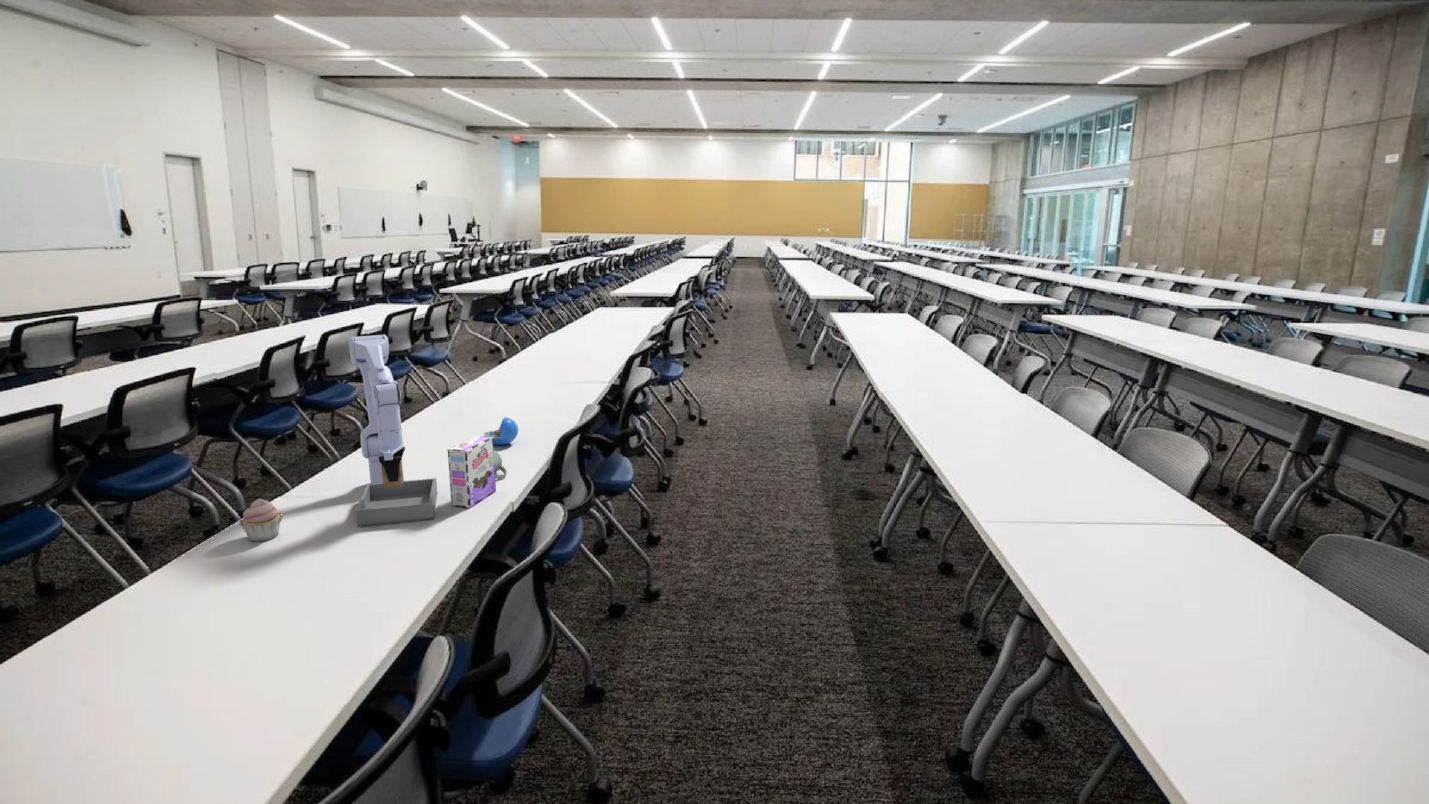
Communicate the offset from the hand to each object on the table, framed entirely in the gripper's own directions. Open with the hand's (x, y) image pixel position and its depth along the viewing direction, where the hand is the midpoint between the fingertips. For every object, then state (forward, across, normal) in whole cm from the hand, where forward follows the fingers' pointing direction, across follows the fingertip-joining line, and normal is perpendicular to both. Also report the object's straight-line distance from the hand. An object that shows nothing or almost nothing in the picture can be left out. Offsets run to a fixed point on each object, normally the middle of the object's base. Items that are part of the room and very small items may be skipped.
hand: (394, 478), depth 198 cm
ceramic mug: (+9, -21, +24) cm, 33 cm away
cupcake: (+9, +10, -29) cm, 32 cm away
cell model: (+9, -54, +28) cm, 62 cm away
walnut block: (+2, 0, 0) cm, 2 cm away
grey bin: (+9, 0, 0) cm, 9 cm away
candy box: (+9, -3, +20) cm, 22 cm away
